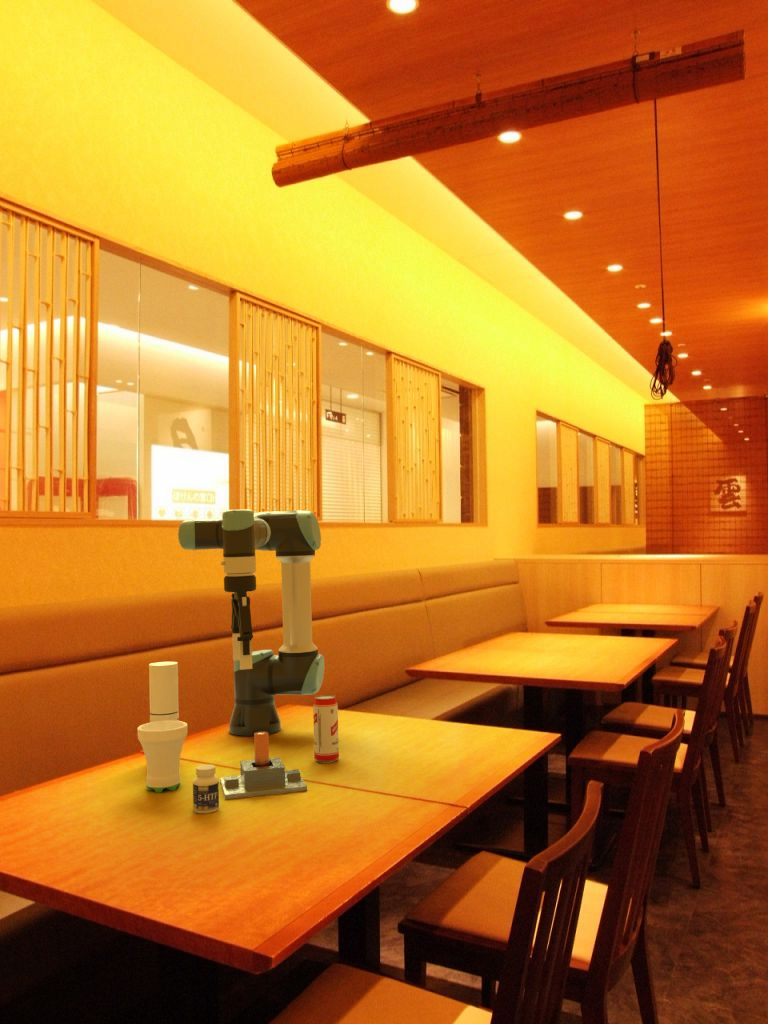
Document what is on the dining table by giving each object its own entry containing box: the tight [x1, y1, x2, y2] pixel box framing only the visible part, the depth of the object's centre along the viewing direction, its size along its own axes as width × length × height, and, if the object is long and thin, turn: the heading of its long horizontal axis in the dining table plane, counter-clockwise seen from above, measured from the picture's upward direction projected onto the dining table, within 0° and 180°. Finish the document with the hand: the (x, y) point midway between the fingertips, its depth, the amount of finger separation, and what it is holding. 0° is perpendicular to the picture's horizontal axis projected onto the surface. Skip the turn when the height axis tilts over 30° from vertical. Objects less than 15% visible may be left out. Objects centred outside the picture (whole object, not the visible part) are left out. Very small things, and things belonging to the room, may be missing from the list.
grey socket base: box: [219, 756, 308, 800], centre depth 190 cm, size 14×18×5 cm
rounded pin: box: [253, 732, 270, 767], centre depth 190 cm, size 3×3×12 cm
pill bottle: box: [192, 764, 220, 814], centre depth 174 cm, size 5×5×9 cm
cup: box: [137, 720, 188, 794], centre depth 191 cm, size 11×11×14 cm
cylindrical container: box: [148, 661, 180, 723], centre depth 215 cm, size 7×7×25 cm
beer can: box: [312, 694, 340, 764], centre depth 211 cm, size 6×6×16 cm
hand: (242, 664), depth 197 cm, fingers open, 13 cm apart
